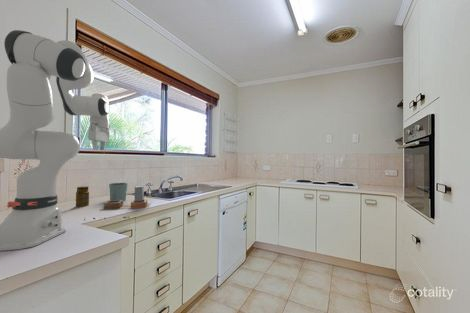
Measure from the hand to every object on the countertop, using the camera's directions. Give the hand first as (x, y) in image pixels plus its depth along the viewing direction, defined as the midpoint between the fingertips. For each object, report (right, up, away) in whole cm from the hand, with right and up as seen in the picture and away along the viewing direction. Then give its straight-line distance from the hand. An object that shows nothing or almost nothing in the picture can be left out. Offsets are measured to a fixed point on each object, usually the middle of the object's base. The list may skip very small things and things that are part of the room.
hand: (98, 149), depth 119 cm
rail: (+14, -33, +2) cm, 36 cm away
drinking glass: (+1, -33, +18) cm, 38 cm away
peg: (+20, -32, +4) cm, 38 cm away
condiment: (-11, -33, +2) cm, 34 cm away
